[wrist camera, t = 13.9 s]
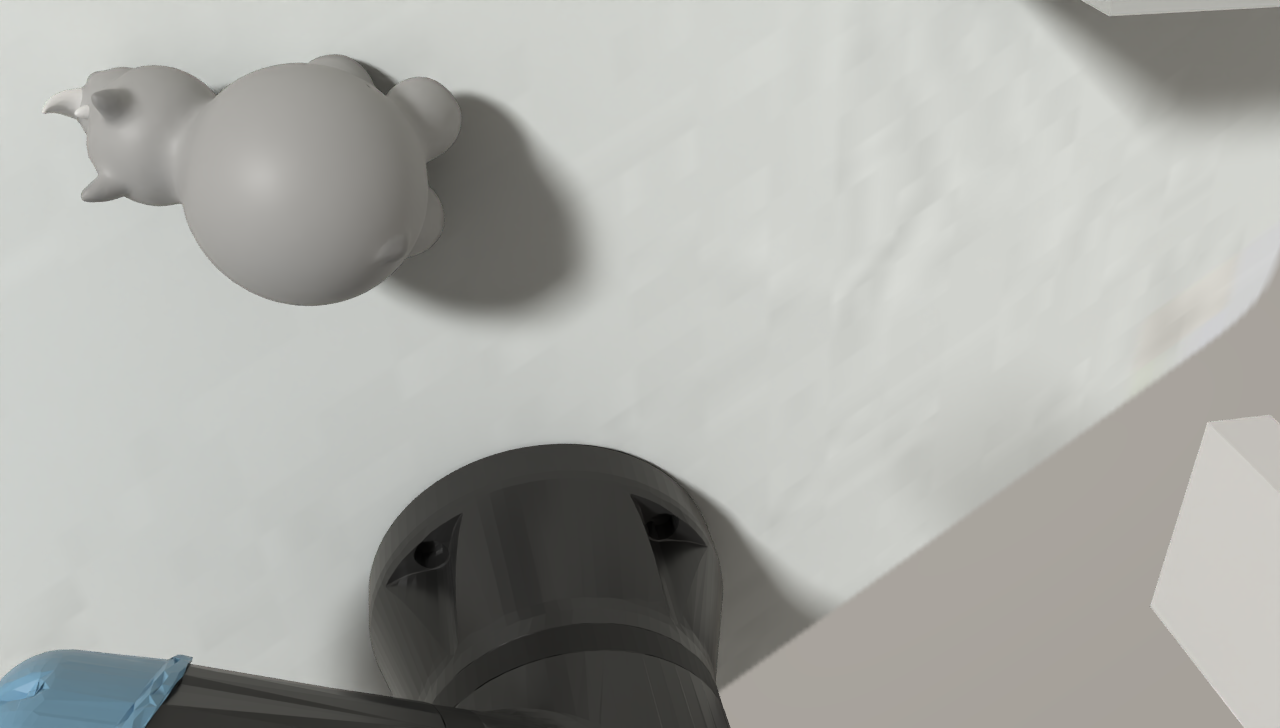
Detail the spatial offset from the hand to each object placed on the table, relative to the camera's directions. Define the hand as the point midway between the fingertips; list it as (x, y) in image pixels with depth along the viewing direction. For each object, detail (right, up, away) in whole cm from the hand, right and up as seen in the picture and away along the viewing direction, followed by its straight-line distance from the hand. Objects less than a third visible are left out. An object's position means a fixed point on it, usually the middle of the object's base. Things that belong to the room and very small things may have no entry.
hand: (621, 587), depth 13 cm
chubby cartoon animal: (-12, +11, +28) cm, 32 cm away
